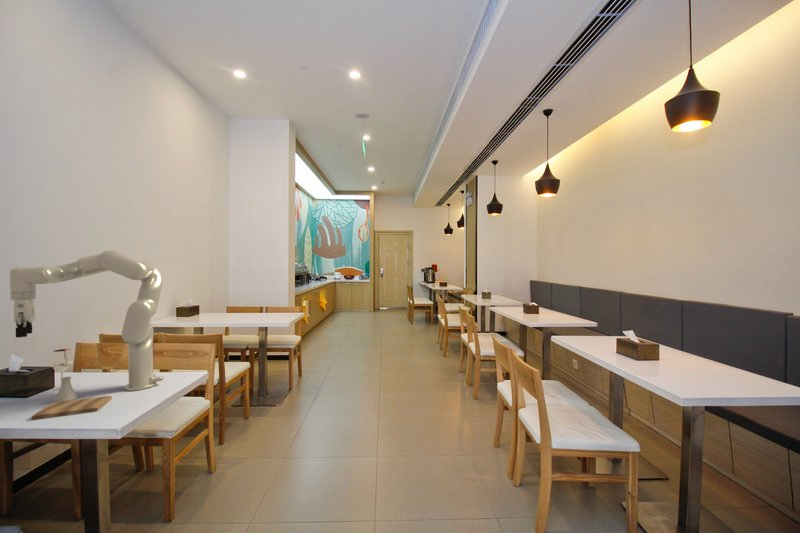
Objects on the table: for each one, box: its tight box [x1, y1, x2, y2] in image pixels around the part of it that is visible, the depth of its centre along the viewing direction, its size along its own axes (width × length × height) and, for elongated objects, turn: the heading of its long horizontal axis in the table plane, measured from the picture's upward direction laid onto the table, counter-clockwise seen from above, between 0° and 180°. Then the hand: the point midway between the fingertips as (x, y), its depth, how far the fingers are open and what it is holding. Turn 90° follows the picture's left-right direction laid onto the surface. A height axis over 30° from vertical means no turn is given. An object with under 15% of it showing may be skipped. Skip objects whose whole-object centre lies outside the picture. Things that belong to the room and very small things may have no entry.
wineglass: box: [49, 348, 74, 390], centre depth 169 cm, size 8×8×18 cm
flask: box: [53, 376, 79, 403], centre depth 152 cm, size 7×7×10 cm
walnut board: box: [31, 395, 113, 421], centre depth 142 cm, size 20×14×2 cm
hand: (24, 335), depth 152 cm, fingers open, 9 cm apart
